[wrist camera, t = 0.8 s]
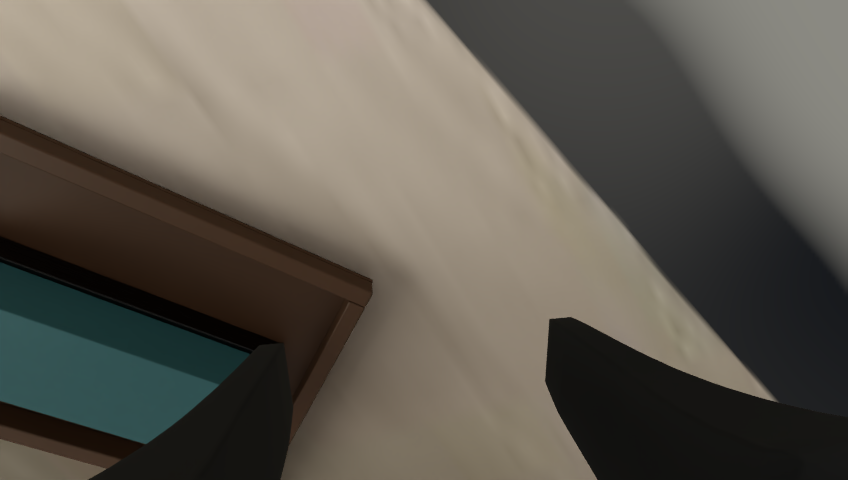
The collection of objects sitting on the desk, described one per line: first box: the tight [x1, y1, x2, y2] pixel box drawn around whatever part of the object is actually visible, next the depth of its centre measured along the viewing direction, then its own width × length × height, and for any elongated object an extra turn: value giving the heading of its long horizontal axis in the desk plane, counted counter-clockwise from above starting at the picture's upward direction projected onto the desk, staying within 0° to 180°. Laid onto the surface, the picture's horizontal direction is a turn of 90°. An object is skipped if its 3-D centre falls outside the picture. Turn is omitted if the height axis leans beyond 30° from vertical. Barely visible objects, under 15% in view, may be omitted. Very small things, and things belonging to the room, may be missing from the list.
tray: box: [0, 116, 372, 469], centre depth 21 cm, size 14×19×2 cm
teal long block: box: [0, 236, 285, 444], centre depth 19 cm, size 14×4×4 cm, turn 61°
